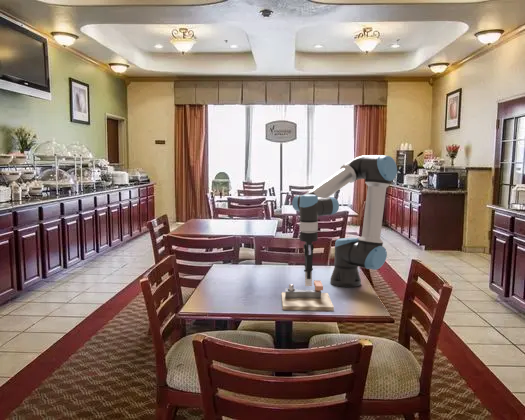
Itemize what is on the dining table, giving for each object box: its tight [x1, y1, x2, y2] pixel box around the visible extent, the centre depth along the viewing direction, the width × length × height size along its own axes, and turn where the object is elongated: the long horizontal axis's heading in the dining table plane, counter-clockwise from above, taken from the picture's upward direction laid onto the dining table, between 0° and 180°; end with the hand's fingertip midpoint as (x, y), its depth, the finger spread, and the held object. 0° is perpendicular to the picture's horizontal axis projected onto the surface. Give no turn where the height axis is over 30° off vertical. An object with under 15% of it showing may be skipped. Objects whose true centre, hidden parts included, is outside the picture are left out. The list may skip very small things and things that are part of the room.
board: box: [281, 291, 335, 311], centre depth 201 cm, size 21×20×2 cm
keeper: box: [313, 280, 324, 291], centre depth 205 cm, size 3×10×6 cm, turn 179°
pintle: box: [288, 283, 295, 299], centre depth 204 cm, size 5×5×6 cm
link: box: [284, 287, 322, 299], centre depth 204 cm, size 16×5×3 cm, turn 87°
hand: (308, 285), depth 198 cm, fingers closed
